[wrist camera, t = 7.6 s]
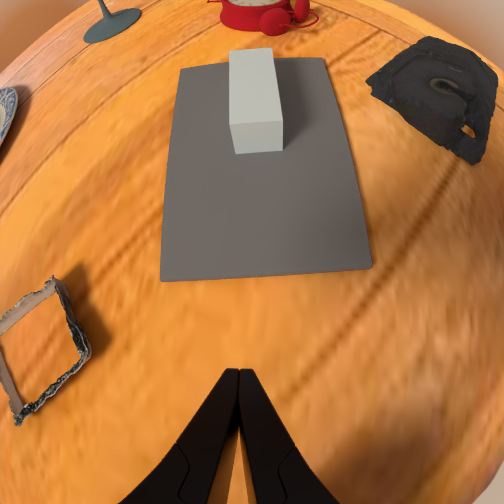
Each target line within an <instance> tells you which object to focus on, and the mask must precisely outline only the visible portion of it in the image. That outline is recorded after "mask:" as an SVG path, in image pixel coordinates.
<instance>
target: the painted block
mask: <svg viewBox="0 0 504 504" xmlns="http://www.w3.org/2000/svg"><path fill="white" fill-rule="evenodd" d="M229 125H230V130H231V135H232V139H233V144H234V149H235V153H236V154H244V153H256V152H270V151H283V118H282V111H281V104H280V97H279V91H278V84H277V78H276V72H275V66H274V60H273V54H272V48H259V49H246V50H236V51H229Z"/></svg>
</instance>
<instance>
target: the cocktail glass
mask: <svg viewBox="0 0 504 504" xmlns="http://www.w3.org/2000/svg"><path fill="white" fill-rule="evenodd" d="M98 2H99V4H100V7H101V9H102V12H103V16H104V18H103V19H101V20H100V21H98V22H97V23H95V24H94V25H93V26H92V27H91V28H90V29H89V30H88V31H87V32H86V33H85V35H84V41H85V42H86V43H96V42H100V41H103V40H106V39H108V38H111V37H113V36H115V35H117V34H119V33H121V32H122V31H124V30H126V29H127V28H129V27H130V26H131V25H132V24H134V23H135V22H136V21H137V20H138V18H139V17H140V15H141V12H140V10H139V9H135V8H130V9H124V10H121V11H118V12H115V13H113V14H111V13H110V12H109V10H108V9H107V7H106V6H105V4H104V2H103V0H98Z"/></svg>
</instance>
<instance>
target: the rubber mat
mask: <svg viewBox="0 0 504 504" xmlns="http://www.w3.org/2000/svg"><path fill="white" fill-rule="evenodd" d="M273 60H274V66H275V72H276V78H277V84H278V91H279V97H280V104H281V111H282V118H283V151H270V152H256V153H244V154H236V153H235V149H234V144H233V139H232V135H231V130H230V125H229V62H225V63H217V64H209V65H202V66H196V67H190V68H184V69H181V71H180V77H179V83H178V89H177V95H176V101H175V108H174V115H173V122H172V129H171V137H170V145H169V154H168V163H167V173H166V183H165V194H164V207H163V222H162V239H161V261H160V281H162V282H175V281H196V280H216V279H234V278H251V277H267V276H282V275H297V274H311V273H325V272H338V271H350V270H362V269H371V268H372V267H373V266H372V259H371V252H370V246H369V240H368V234H367V228H366V223H365V217H364V212H363V207H362V202H361V197H360V192H359V187H358V182H357V178H356V174H355V169H354V165H353V161H352V157H351V152H350V148H349V145H348V141H347V137H346V133H345V129H344V126H343V122H342V119H341V115H340V112H339V108H338V105H337V101H336V98H335V95H334V92H333V89H332V85H331V82H330V79H329V76H328V73H327V70H326V67H325V64H324V61H323V59H322V58H273Z"/></svg>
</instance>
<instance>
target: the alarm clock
mask: <svg viewBox="0 0 504 504" xmlns="http://www.w3.org/2000/svg"><path fill="white" fill-rule="evenodd" d="M209 2H222V5H223V9H222V12H221V14H220V20H221V22H222V23H223V24H224V25H225V26H227V27H229V28H232V29H236V30H242V31H262V32H263V33H264V34H266V35H269V36H277V35H280V34H282V33H284V32H285V31H286V30H287V29H288V28H289V27H294V28H304V27H308V26H311V25H313V24H315V23H316V22H317V21H318V20H319V17H318V16H317V15H316V14H315V13H312V12H310V11H313V9H310V3H309V0H297V1H296V5H295V11H294V10H293V9H292V7H291V5H290V0H217V1H209V0H208V1H207V3H209ZM309 13H311V14H313V15H315V16H316V17H317V20H316V21H314V22H313V23H311V24H309V25H305V26H293V25H290V22H291V21H292V20H293V19H294V17H295V21H296V22H303V21H305V20H306V18H307V17H308V14H309Z"/></svg>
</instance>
